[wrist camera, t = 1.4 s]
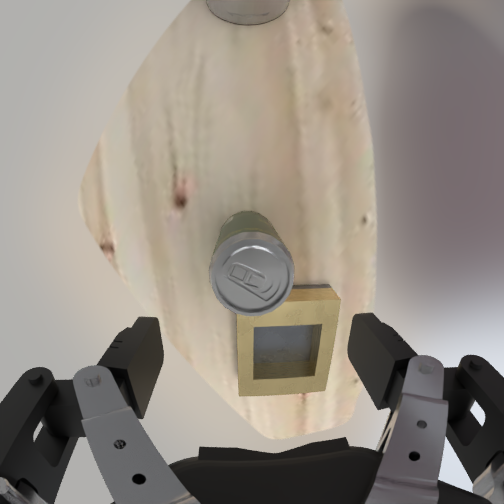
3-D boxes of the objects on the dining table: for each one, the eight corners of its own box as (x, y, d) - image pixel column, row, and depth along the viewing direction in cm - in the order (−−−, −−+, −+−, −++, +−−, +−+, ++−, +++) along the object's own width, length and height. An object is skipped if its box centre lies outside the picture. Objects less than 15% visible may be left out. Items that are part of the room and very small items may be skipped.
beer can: (211, 250, 28) (193, 299, 17) (233, 201, 27) (229, 219, 16) (259, 271, 29) (272, 331, 18) (283, 224, 28) (313, 257, 16)
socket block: (236, 286, 29) (236, 302, 26) (328, 284, 30) (340, 299, 26) (238, 374, 33) (238, 396, 29) (317, 370, 33) (325, 390, 29)
